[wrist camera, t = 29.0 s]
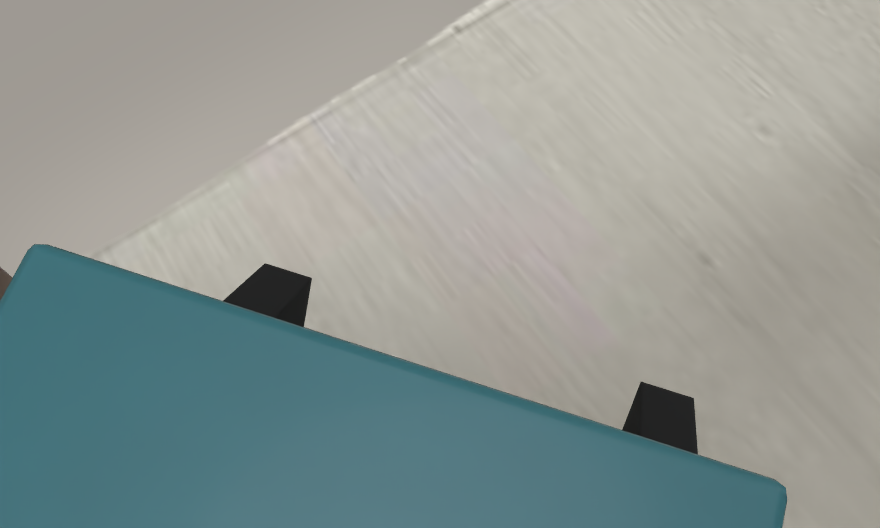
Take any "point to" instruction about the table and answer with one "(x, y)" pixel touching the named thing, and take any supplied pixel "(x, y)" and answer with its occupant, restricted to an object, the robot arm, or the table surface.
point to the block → (298, 428)
